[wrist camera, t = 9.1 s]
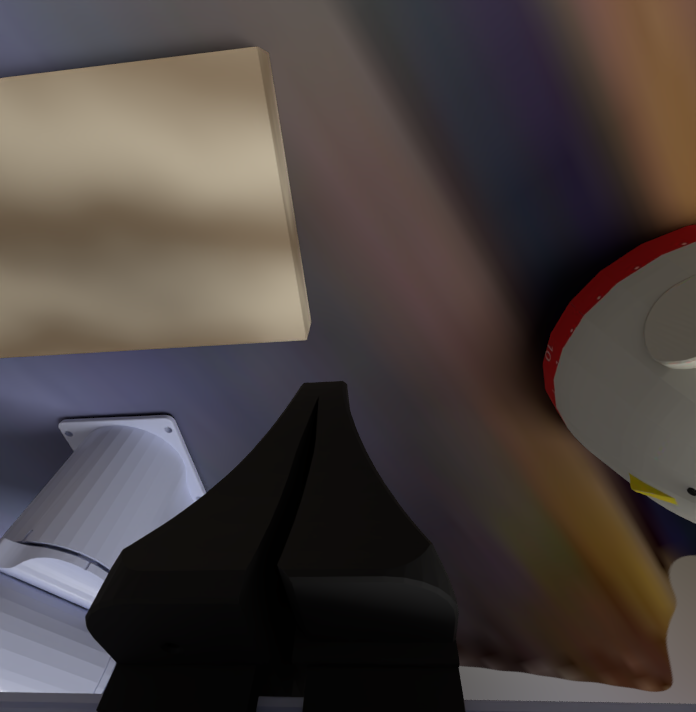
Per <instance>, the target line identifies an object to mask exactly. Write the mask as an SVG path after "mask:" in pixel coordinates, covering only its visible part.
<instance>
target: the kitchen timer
mask: <svg viewBox="0 0 696 712" xmlns="http://www.w3.org/2000/svg"><path fill="white" fill-rule="evenodd" d="M543 372H544V382H545V390H546V392H547V394H548V395H549V397H550V399H551V401H552V403H553V405H554V406H555V408H556V410H557V412H558V413H559V415H560V417H561V418H562V420H563V421H564V423H565V425H566V426H567V428H568V429H569V430H570V432H571V433H572V434H573V435H574V436H575V437H576V439H577V440H578V441H579V442H580V443H581V444H582V445H583V446H585V447H586V448H587V449H588V450H589V451H590V452H592V453H593V454H594V455H595V456H597V457H598V458H599V459H600V460H602V461H603V462H604V463H605V464H607V465H608V466H609V467H610V468H612V469H613V470H614V471H616V472H617V473H618V474H619V475H621V476H622V477H623V478H624V479H626V480H627V481H628V482H630V483H631V489H632V490H634V491H636V492H639V493H642V494H645V495H647V496H648V497H649V498H651V499H652V500H654V501H655V502H657V503H658V504H660V505H661V506H663V507H665V508H666V509H668V510H670V511H672V512H674V513H675V514H677V515H679V516H681V517H683V518H685V519H687V520H689V521H691V522H693V523H696V225H689V226H685V227H683V228H680V229H678V230H675V231H673V232H670V233H668V234H665V235H663V236H660V237H658V238H655V239H653V240H650V241H648V242H646V243H643V244H641V245H639V246H638V247H636V248H634V249H633V250H631V251H630V252H628V253H627V254H625V255H624V256H622V257H621V258H619V259H618V260H616V261H615V262H613V263H612V264H610V265H609V266H607V267H606V268H604V269H603V270H601V271H600V272H599V273H598V274H597V275H596V276H595V277H594V278H593V279H592V280H591V281H590V282H589V283H588V284H587V285H586V286H585V287H584V288H583V289H582V290H581V291H580V292H579V293H578V294H577V295H576V296H575V297H574V298H573V299H572V300H571V301H570V303H569V304H568V306H567V307H566V309H565V311H564V312H563V314H562V316H561V317H560V319H559V321H558V322H557V324H556V326H555V327H554V329H553V331H552V332H551V334H550V338H549V342H548V345H547V349H546V353H545V357H544V360H543Z"/></svg>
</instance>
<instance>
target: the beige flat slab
mask: <svg viewBox="0 0 696 712" xmlns="http://www.w3.org/2000/svg"><path fill="white" fill-rule="evenodd" d="M310 325H311V317H310V311H309V304H308V298H307V292H306V285H305V279H304V273H303V267H302V260H301V254H300V248H299V241H298V235H297V229H296V222H295V216H294V210H293V203H292V197H291V191H290V184H289V178H288V172H287V165H286V159H285V153H284V146H283V140H282V134H281V127H280V121H279V115H278V108H277V102H276V96H275V89H274V83H273V77H272V70H271V64H270V58H269V53H268V52H266V51H264V50H262V49H261V48H259V47H249V48H241V49H233V50H225V51H217V52H209V53H200V54H192V55H184V56H176V57H168V58H160V59H152V60H143V61H135V62H127V63H119V64H111V65H103V66H95V67H87V68H78V69H70V70H62V71H54V72H46V73H38V74H30V75H21V76H13V77H5V78H0V358H9V357H26V356H43V355H60V354H77V353H93V352H110V351H127V350H144V349H161V348H178V347H195V346H212V345H229V344H246V343H263V342H280V341H297V340H307V336H308V333H309V329H310Z"/></svg>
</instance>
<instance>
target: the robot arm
mask: <svg viewBox="0 0 696 712" xmlns="http://www.w3.org/2000/svg"><path fill="white" fill-rule="evenodd" d="M58 427H59V429H60V431H61V432H62V434H63V435H64V437H65V439H66V440H67V442H68V443H69V445H70V446H71V448H72V449H73V451H74V452H73V454H72V455H71V456H70V457H69V458H68V459H67V461H66V462H65V463H64V464H63V465H62V467H61V468H60V469H59V470H58V471H57V472H56V474H55V475H54V476H53V477H52V478H51V480H50V481H49V482H48V483H47V484H46V486H45V487H44V488H43V489H42V490H41V491H40V493H39V494H38V495H37V496H36V497H35V499H34V500H33V501H32V502H31V503H30V504H29V506H28V507H27V508H26V509H25V510H24V512H23V513H22V514H21V515H20V516H19V518H18V519H17V520H16V521H15V522H14V523H13V525H12V526H11V527H10V528H9V529H8V531H7V532H6V533H5V534H4V535H3V536H2V538H1V539H0V712H696V704H670V703H669V704H668V703H667V704H666V703H613V702H612V703H611V702H555V701H553V702H551V701H497V700H496V701H495V700H464V699H463V692H462V686H461V680H460V674H459V668H458V667H459V656H458V650H457V644H456V632H457V623H458V605H457V601H456V598H455V594H454V591H453V588H452V585H451V583H450V580H449V578H448V575H447V573H446V571H445V569H444V567H443V565H442V562H441V560H440V558H439V556H438V554H437V552H436V550H435V548H434V546H433V544H432V543H431V542H430V541H429V540H428V539H427V537H426V536H425V535H424V534H423V533H422V532H421V531H420V529H419V528H418V527H417V526H416V525H415V524H414V522H413V521H412V520H411V519H410V517H409V516H408V515H407V514H406V512H405V511H404V510H403V509H402V507H401V506H400V505H399V503H398V502H397V500H396V499H395V498H394V496H393V495H392V493H391V492H390V490H389V489H388V487H387V486H386V485H385V483H384V482H383V480H382V478H381V477H380V475H379V473H378V472H377V470H376V468H375V467H374V465H373V463H372V461H371V459H370V458H369V456H368V454H367V452H366V450H365V448H364V445H363V443H362V441H361V439H360V437H359V434H358V432H357V429H356V427H355V424H354V421H353V418H352V415H351V412H350V407H349V398H348V389H347V384H346V383H345V382H343V381H336V382H316V383H304V384H303V385H302V386H301V387H300V389H299V390H298V392H297V393H296V395H295V396H294V398H293V399H292V401H291V402H290V403H289V405H288V406H287V408H286V409H285V410H284V412H283V413H282V414H281V416H280V417H279V418H278V420H277V421H276V422H275V424H274V425H273V426H272V428H271V429H270V430H269V431H268V432H267V434H266V435H265V436H264V437H263V438H262V440H261V441H260V442H259V443H258V444H257V445H256V447H255V448H254V449H253V450H252V451H251V452H250V453H249V454H248V455H247V456H246V457H245V458H244V459H243V460H242V461H241V462H240V463H239V464H238V465H237V466H236V467H235V468H234V469H233V470H232V471H231V472H230V473H229V474H228V475H227V476H226V477H225V478H223V479H222V480H221V481H220V482H219V483H217V484H216V485H215V486H214V487H213V488H212V489H210V490H209V491H208V492H207V493H206V491H205V489H204V487H203V484H202V482H201V480H200V477H199V475H198V473H197V470H196V468H195V466H194V463H193V461H192V459H191V456H190V454H189V452H188V449H187V447H186V445H185V442H184V440H183V438H182V435H181V433H180V431H179V428H178V426H177V424H176V421H175V419H174V418H173V417H171V416H169V415H152V416H130V417H107V418H85V419H65V420H62V421H61V422H60V423H59V424H58ZM168 427H169V428H168ZM170 428H171V429H170Z"/></svg>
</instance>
